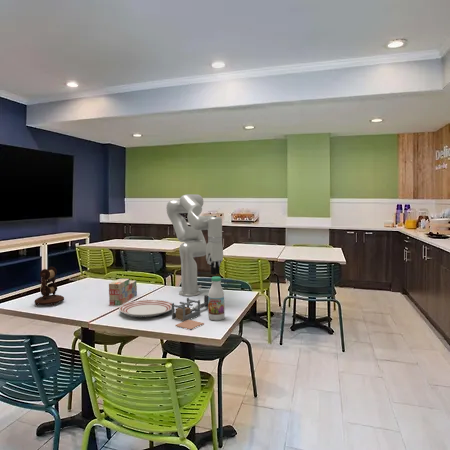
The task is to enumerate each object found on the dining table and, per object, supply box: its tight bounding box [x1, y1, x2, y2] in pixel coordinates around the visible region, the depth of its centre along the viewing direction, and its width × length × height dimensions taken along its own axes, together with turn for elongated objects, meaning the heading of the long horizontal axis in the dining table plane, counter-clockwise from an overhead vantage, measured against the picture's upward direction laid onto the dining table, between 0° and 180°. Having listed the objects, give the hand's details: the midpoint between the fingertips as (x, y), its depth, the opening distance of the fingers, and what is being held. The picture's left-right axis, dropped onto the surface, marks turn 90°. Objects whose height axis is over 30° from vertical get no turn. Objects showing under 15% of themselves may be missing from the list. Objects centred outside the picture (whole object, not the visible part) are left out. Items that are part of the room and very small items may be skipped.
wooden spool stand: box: [34, 266, 65, 307], centre depth 198 cm, size 15×15×20 cm
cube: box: [175, 306, 191, 321], centre depth 173 cm, size 5×5×5 cm
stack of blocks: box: [108, 278, 138, 307], centre depth 204 cm, size 21×6×12 cm, turn 169°
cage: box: [171, 297, 201, 322], centre depth 174 cm, size 12×8×8 cm, turn 145°
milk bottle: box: [207, 275, 225, 321], centre depth 172 cm, size 8×8×20 cm
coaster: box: [175, 319, 205, 330], centre depth 163 cm, size 9×9×1 cm
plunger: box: [189, 294, 209, 313], centre depth 182 cm, size 18×5×6 cm, turn 145°
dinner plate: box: [118, 299, 173, 318], centre depth 183 cm, size 28×27×3 cm
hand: (215, 273), depth 193 cm, fingers closed
